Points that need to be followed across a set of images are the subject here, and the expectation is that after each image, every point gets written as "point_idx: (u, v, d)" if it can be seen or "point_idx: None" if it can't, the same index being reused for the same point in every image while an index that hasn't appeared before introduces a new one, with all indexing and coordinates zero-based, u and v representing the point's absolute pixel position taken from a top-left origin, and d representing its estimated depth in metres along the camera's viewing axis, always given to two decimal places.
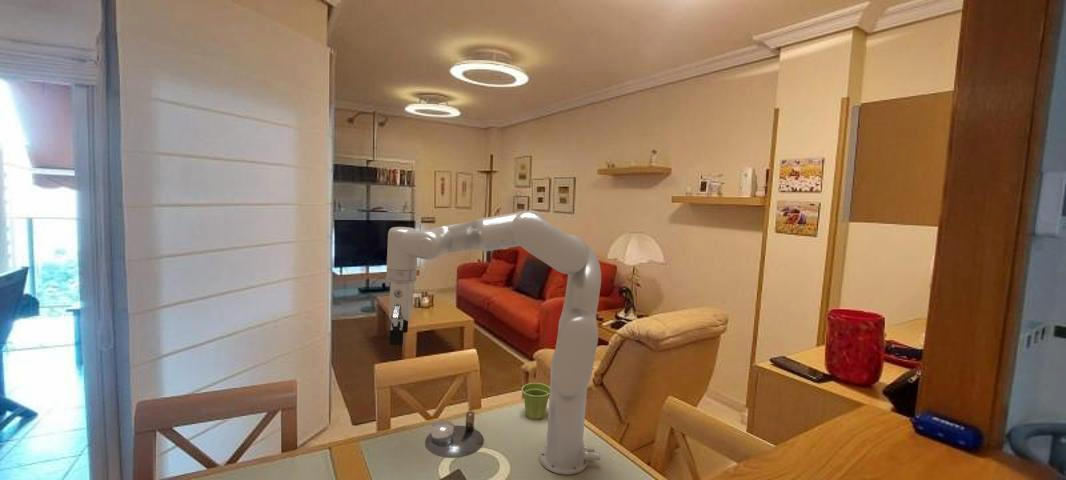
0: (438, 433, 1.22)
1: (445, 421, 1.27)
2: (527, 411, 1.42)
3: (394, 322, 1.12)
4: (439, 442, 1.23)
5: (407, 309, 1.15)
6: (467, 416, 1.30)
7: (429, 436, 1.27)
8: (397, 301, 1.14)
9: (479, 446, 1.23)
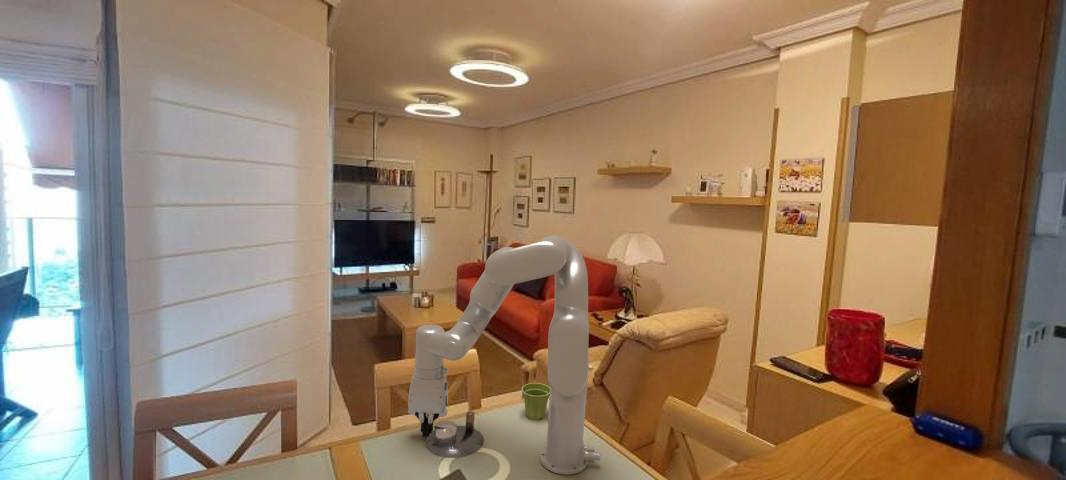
0: (441, 433, 1.22)
1: (448, 421, 1.27)
2: (527, 411, 1.42)
3: None
4: (442, 442, 1.23)
5: None
6: (467, 416, 1.30)
7: (429, 436, 1.27)
8: (446, 393, 1.24)
9: (479, 446, 1.23)
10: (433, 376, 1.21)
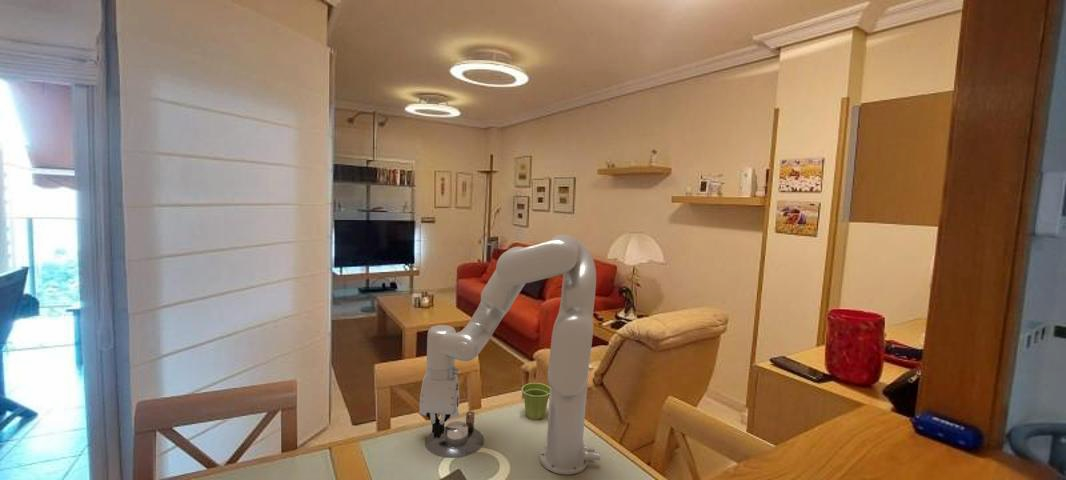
0: (453, 434, 1.22)
1: (459, 422, 1.27)
2: (527, 411, 1.42)
3: None
4: (454, 443, 1.22)
5: None
6: (467, 416, 1.30)
7: (429, 436, 1.27)
8: (457, 393, 1.24)
9: (479, 446, 1.23)
10: (445, 377, 1.20)
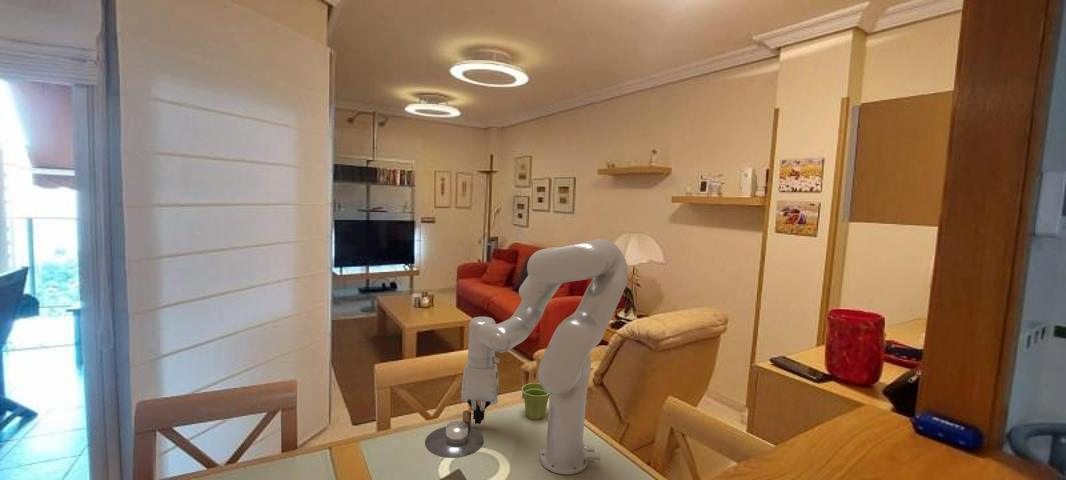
0: (455, 434, 1.22)
1: (458, 422, 1.27)
2: (527, 411, 1.42)
3: None
4: (456, 443, 1.22)
5: None
6: (464, 415, 1.30)
7: (428, 438, 1.26)
8: (497, 382, 1.30)
9: (480, 444, 1.24)
10: (486, 365, 1.27)
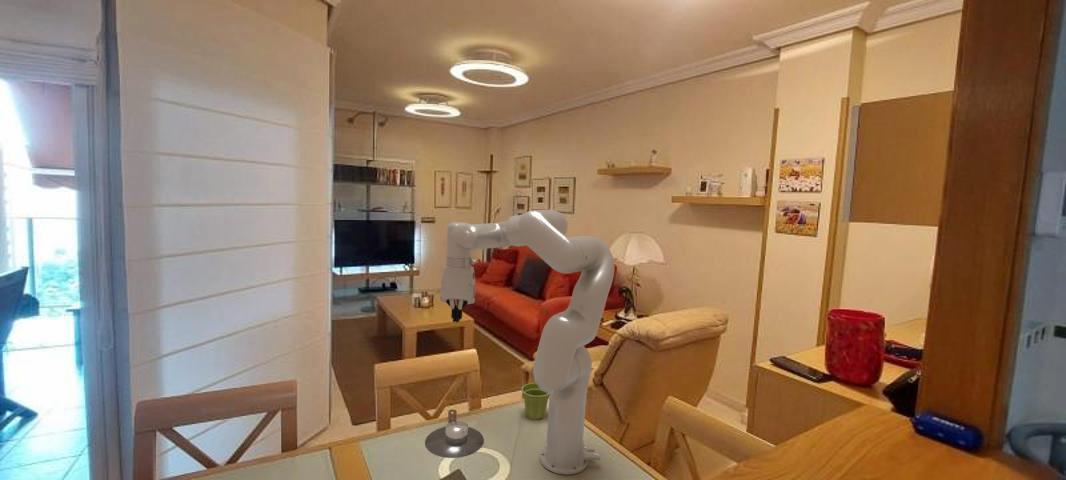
0: (461, 433, 1.23)
1: (452, 422, 1.27)
2: (527, 411, 1.42)
3: None
4: (462, 441, 1.23)
5: None
6: (452, 415, 1.30)
7: (429, 448, 1.21)
8: (474, 282, 1.40)
9: (480, 435, 1.29)
10: (463, 265, 1.36)
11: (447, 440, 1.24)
